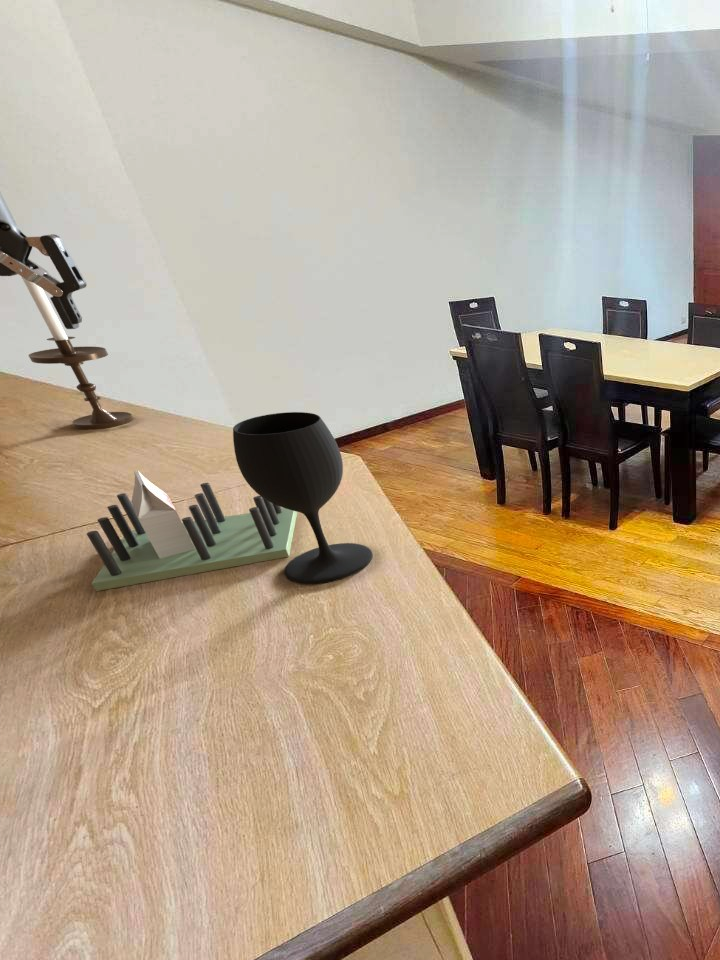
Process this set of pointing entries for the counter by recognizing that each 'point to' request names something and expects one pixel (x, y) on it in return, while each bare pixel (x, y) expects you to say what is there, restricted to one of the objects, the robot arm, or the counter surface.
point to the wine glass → (299, 485)
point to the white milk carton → (159, 519)
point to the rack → (212, 539)
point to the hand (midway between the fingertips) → (25, 330)
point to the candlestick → (73, 364)
